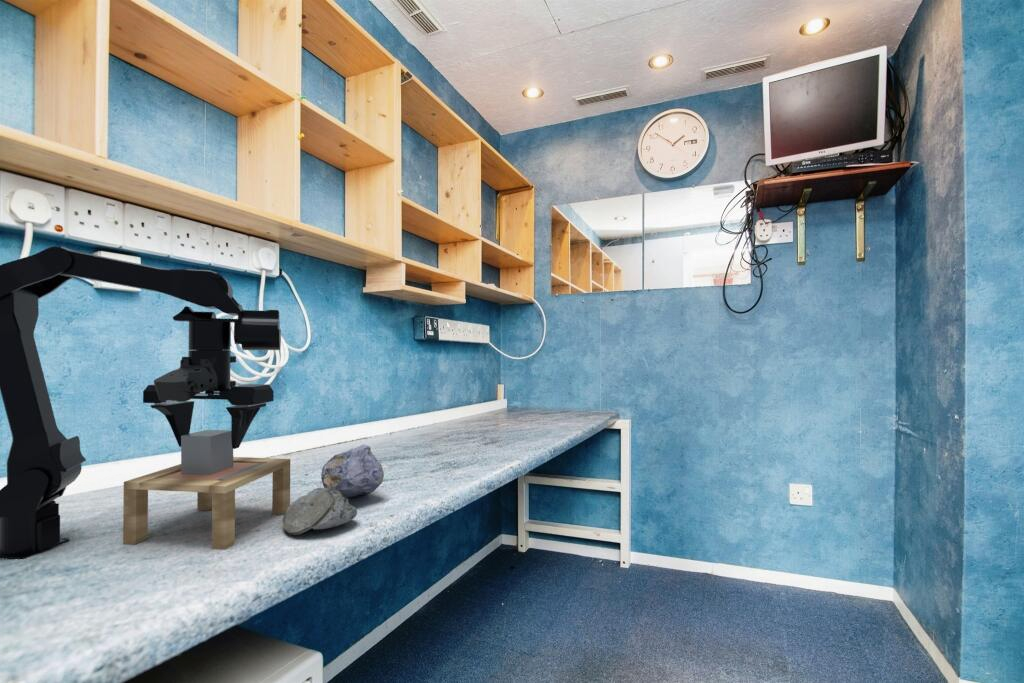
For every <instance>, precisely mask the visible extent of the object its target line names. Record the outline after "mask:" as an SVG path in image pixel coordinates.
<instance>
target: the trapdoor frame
mask: <svg viewBox="0 0 1024 683" xmlns="http://www.w3.org/2000/svg"><path fill="white" fill-rule="evenodd" d="M233 462H234V463H264V464H262V465H259V466H257V467H254V468H252V469H249V470H247V471H244V472H242V473H239V474H237V475H235V476H232V477H230V478H227V479H225V480H222V481H219V480H196V479H172V478H162V477H165V476H168V475H171V474H174V473H177V472H180V471H181V463H180V464H177V465H176V464H175V465H172V466H170V467H167V468H164V469H163V468H162V469H161V470H160V469H159V470H157V471H153V472H151V473H148V474H144V475H142V476H138V477H134V478H132V479H127V480H126V481H124V482H123V508H122V509H123V511H122V512H123V516H122V518H123V520H122V523H123V525H122V531H123V532H122V533H123V535H122V537H123V538H122V540H123V541H122V544H123V545H139V543H142V542H143V541H146V540H149V539H148V537H149V536H148V534H149V527H148V526H149V523H148V522H149V491H160V492H161V491H166V492H167V491H168V492H183V493H184V492H186V493H187V492H189V493H197V498H196V499H197V501H196V502H197V505H196V506H197V508H196V509H197V511H205V512H206V511H210V510H211V549H212V550H224V551H225V550H227V549H228V548H230V547H232V546H234V545H235V542H236V541H235V540H236V539H235V537H236V536H235V535H236V534H235V533H236V531H235V530H236V529H235V528H236V527H235V526H236V522H235V521H236V519H235V518H236V489H238V488H240V487H243V486H245V485H248V484H250V483H253V482H254V481H257V480H259V479H261V478H263V477H265V476H268V475H271V474H272V488H271V489H272V491H271V492H272V496H271V497H272V499H271V500H272V506H271V507H272V509H271V510H272V512H271V514H272V515H284V514H285V512H286V510H287V509H288V507H289V506H290V505H291V458H273V457H272V458H271V457H248V456H247V457H246V456H245V457H244V456H243V457H242V456H233Z"/></svg>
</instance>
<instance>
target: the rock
mask: <svg viewBox="0 0 1024 683" xmlns="http://www.w3.org/2000/svg"><path fill="white" fill-rule="evenodd" d="M320 476H321V482H322V486H323V488H328V487H331V488H334V489H336V490H338V491H339V492H341V494H342V495H341V496H345V497H348V498H353V497H356V496H361V495H370V494H371V493H373V492H375V491H376V490H377V489H378V488H379V486H381V484H383V481H384V476H385V472H384V469H383V465H382V464H381V463H380V462H379V461H378V458H377V457H376V456H375V455H374V454H373V451H372V450H371V447H370V446H369V445H365V444H362V445H359V446H357V447H355V448H351V449H349V450H348V451H345V452H341V453H337V454H334V455H333V456H332V457H331V458H330V459H329V460H328V461H327V462H326V463H325V464H324V465H323V466H322V469H321V472H320Z"/></svg>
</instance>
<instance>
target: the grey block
mask: <svg viewBox="0 0 1024 683" xmlns="http://www.w3.org/2000/svg"><path fill="white" fill-rule="evenodd" d="M233 457H234V449H233V448H232V442H231V430H229V429H203V430H200V431H199V430H198V431H196V432H195V431H194V432H192V433H189V434H186V435H182V436H181V447H180V464H181V474H189V475H212V474H215V473H218V472H221V471H223V470H226V469H229V468H231V467H233Z"/></svg>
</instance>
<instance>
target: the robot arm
mask: <svg viewBox="0 0 1024 683" xmlns="http://www.w3.org/2000/svg"><path fill="white" fill-rule="evenodd" d="M74 278H79V279H85V280H90V281H91V280H92V281H95V282H100V283H101V282H102V283H107V284H111V285H112V284H113V285H118V286H123V287H127V288H135V289H138V290H145V291H149V292H150V291H151V292H155V293H161V294H165V295H167V296H171V297H174V298H177V299H180V300H182V301H186V302H188V303H192V304H194V305H197V306H199V307H203V308H205V309H210V310H219V311H221V312H222V313H224V314H227V315H230V316H235V317H236V316H237V318H218V317H217V314H216V312H215V311H194V310H193V308H191V307H190V306H187V305H185V306H184V307H183V309H182V310H181V311H179V312H178V313H177V314H175V315H173V316H172V320H173V321H176V322H183V323H184V322H186V323H187V322H188V347H187V348H188V355H187V356H181V360H180V365H179V368H177V369H174V370H172V371H169V372H167V373H164V374H163V375H161V376H159V377H157V378H155V379H153V383H152V384H147V386H146V387H145V388H144V390H143V391H142V403H143V404H150V405H149V406H150V408H151V409H155V410H157V411H158V412H160V413H161V414H163V415H164V416H165V419H166V421H167V422H168V424H169V426H170V429H171V430H172V433H173V435H174V438H175V440H176V443H177V444H178V447H179V448H181V436H182V435H186V434H190V432H191V426H192V418H193V413H194V407H195V400H218V401H219V400H220V401H221V400H223V401H224V400H227V401H228V402H229V403H230V404H231V406H226V411H227V412H228V413H229V415H230V417H231V421H230V422H231V426H230V428H231V442H232V448H233V450H236V449H239V447H240V446H241V444H242V442H243V440H244V438H245V436H246V434H247V432H248V430H249V428H250V426H251V424H252V422H253V420H254V419H255V417H257V416H256V415H258V412H259V411H260V409H261V408H264V407H267V403H270V402H274V390H273V388H272V387H271V385H270V384H264V383H263V384H262V383H249V384H242V385H241V384H240V385H236V384H237V383H236V382H237V381H236V380H231V363H237V356H235V355H232V356H231V350H232V349H231V347H232V346H231V345H232V344H231V338H232V336H231V335H232V334H231V333H232V332H231V330H232V328H231V327H232V324H234V325H233V340H234V344H235V345H241V349H242V351H281V345H282V329H281V328H280V326H281V324H280V311H279V309H266V310H253V309H252V310H251V309H250V310H249V309H243V305H242V304H240V303H238V302H237V300H236V299H235V298H234V297H233V295H234V290H233V286H232V284H231V283H230V281H228V280H227V279H226V278H225V277H224V276H222V275H221V274H220V273H218V272H216V271H213V270H209V269H192V268H161V267H156V266H152V265H151V266H150V265H145V264H140V263H137V262H131V261H127V260H121V259H117V258H111V257H108V256H101V255H96V254H91V253H86V252H82V251H78V250H77V251H76V250H72V249H70V248H67V247H64V246H62V245H61V246H59V245H58V246H57V245H53V246H49V247H47V248H45V249H43V250H40V251H39V252H37V253H34V254H32V255H28V256H24V257H22V258H18V259H15V260H11V261H8V262H5V263H3V264H2V263H1V264H0V396H1V399H2V403H3V406H4V410H5V414H6V418H7V422H8V425H9V429H10V434H11V437H12V441H11V445H10V447H9V448H10V449H9V452H8V456H7V459H6V485H4V486H3V487H2V488H1V489H0V558H4V559H3V560H15V559H18V560H20V559H21V560H25V559H28V558H30V557H32V556H35V555H37V554H40V553H43V552H45V551H48V550H51V549H53V548H56V547H58V546H60V545H63V544H66V543H68V542H69V541H70V537H62V536H61V515H60V503H58V502H56V501H55V500H57V499H58V498H61V497H62V496H63V495H64V493H65V490H66V489H67V487H68V486H69V485H71V484H72V483H73V482H75V481H76V480H77V479H78V477H79V476H80V474H81V473H82V463H84V462H86V461H87V459H86V457H84V455H83V454H82V452H81V442H80V440H81V439H80V436H78V435H76V436H75V435H74V436H73V437H70V438H67V436H65V435H64V433H63V432H62V431H61V430H60V429H59V428H58V426H57V422H56V418H55V414H54V410H53V406H52V403H51V399H50V395H49V390H48V387H47V386H48V385H47V383H46V379H45V374H44V371H43V367H42V363H41V359H40V356H39V352H38V348H37V344H36V341H35V340H36V339H35V334H34V332H35V329H36V325H37V322H38V318H39V314H40V311H39V300H40V299H41V298H43V297H45V296H48V295H50V294H51V293H53V292H55V291H56V290H57V289H58V288H60V287H61V286H63V285H64V284H66V283H67V281H70V280H72V279H74ZM6 558H7V559H6Z"/></svg>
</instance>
